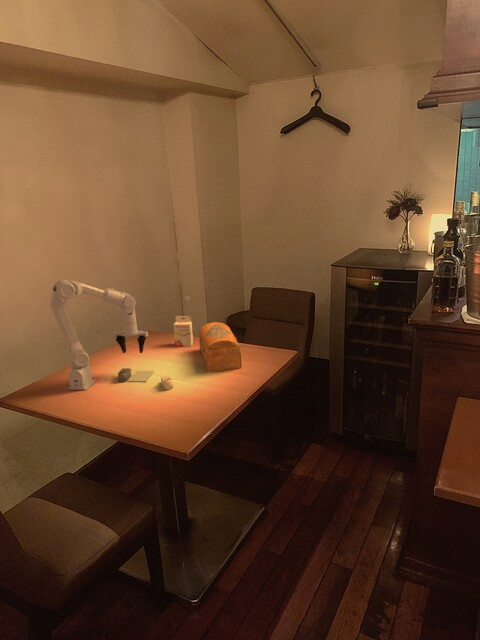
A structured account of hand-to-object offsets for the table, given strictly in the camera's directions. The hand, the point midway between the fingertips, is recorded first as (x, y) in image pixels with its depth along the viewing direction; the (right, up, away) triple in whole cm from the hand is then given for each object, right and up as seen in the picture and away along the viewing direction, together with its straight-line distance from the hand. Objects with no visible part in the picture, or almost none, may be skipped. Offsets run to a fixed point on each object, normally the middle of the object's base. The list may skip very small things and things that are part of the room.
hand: (133, 352), depth 202 cm
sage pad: (+4, -10, -2) cm, 11 cm away
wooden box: (+37, -4, +15) cm, 40 cm away
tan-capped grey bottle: (-3, -11, -3) cm, 12 cm away
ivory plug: (+17, -13, -13) cm, 25 cm away
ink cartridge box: (+18, +1, +36) cm, 40 cm away
